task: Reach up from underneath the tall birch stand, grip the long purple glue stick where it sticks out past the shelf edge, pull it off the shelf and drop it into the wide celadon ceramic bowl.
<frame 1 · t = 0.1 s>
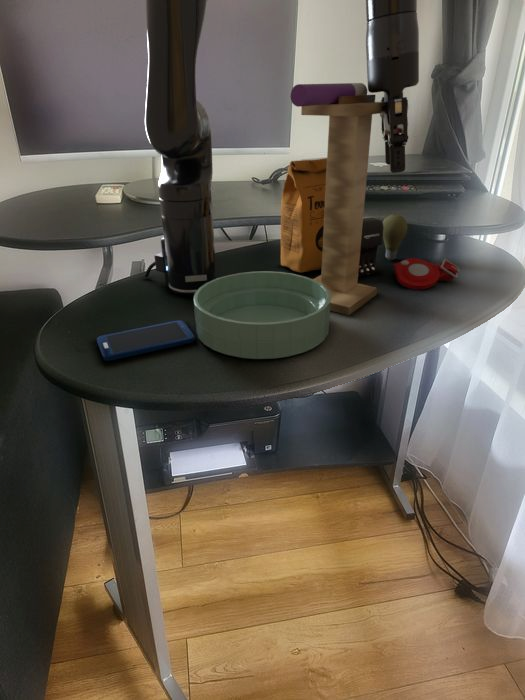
hand: (394, 167, 79), 22 cm above the table, tool pointing down, fingers open, 8 cm apart
glue stick: (331, 103, 70), point 32 cm above the table, touching stand
stand: (333, 297, 89), on the table
light bulb: (390, 260, 107), on the table
coffee package: (311, 268, 103), on the table
tracker holder: (424, 283, 95), on the table
bowl: (262, 328, 78), on the table
cell phone: (146, 342, 74), on the table
battery charger: (362, 275, 99), on the table
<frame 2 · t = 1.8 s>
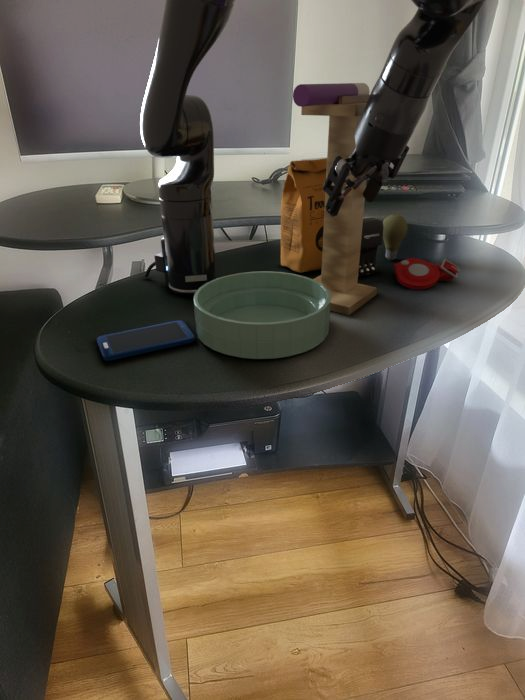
hand: (349, 205, 79), 17 cm above the table, tool tilted 30°, fingers open, 8 cm apart
glue stick: (331, 103, 70), point 32 cm above the table, tilted 19°, touching stand
everything else where it was.
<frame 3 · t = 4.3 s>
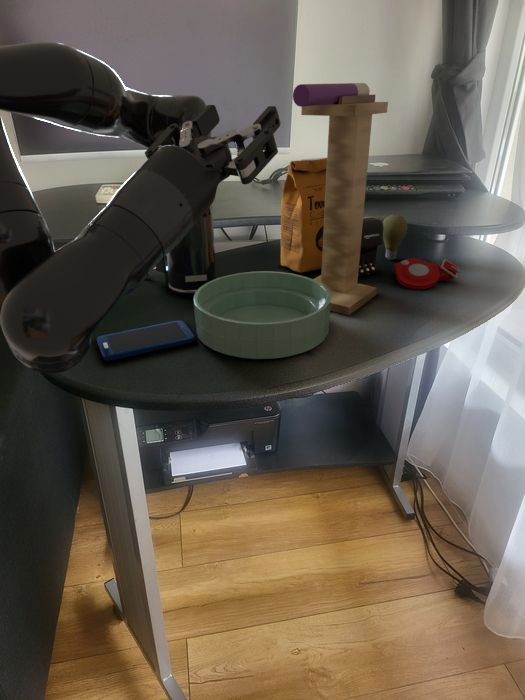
hand: (243, 113, 55), 32 cm above the table, tool pointing upward, fingers open, 8 cm apart
nothing on the table moved.
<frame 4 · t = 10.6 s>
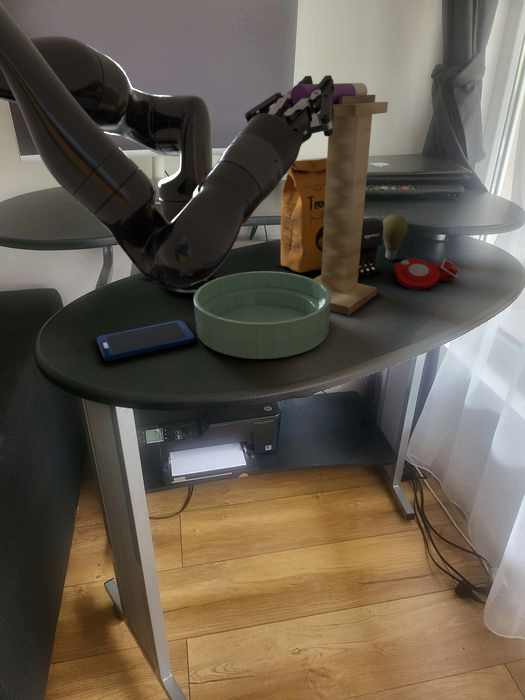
hand: (319, 82, 66), 35 cm above the table, tool pointing upward, fingers closed on glue stick, 2 cm apart
glue stick: (331, 103, 70), point 32 cm above the table, touching gripper, stand
everything else where it was.
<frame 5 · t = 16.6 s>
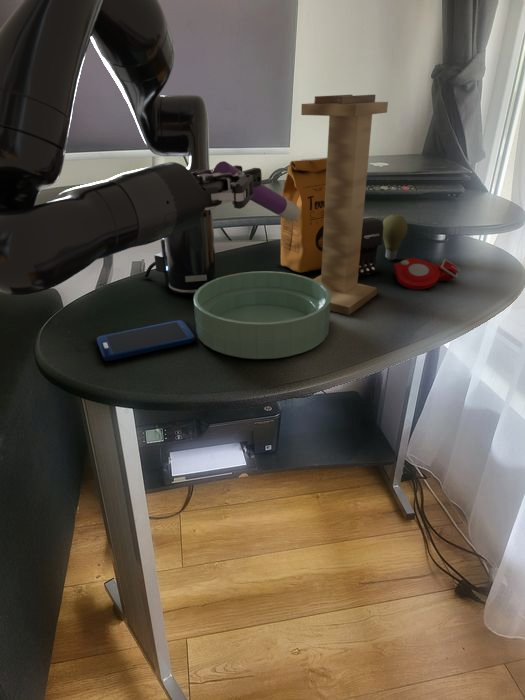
hand: (249, 174, 64), 24 cm above the table, tool horizontal, fingers closed on glue stick, 2 cm apart
glue stick: (257, 203, 67), point 20 cm above the table, tilted 27°, touching gripper
everything else where it was.
when the fingers open (9 cm above the table, at t = 21.5 s): glue stick drops 2 cm, resting on bowl.
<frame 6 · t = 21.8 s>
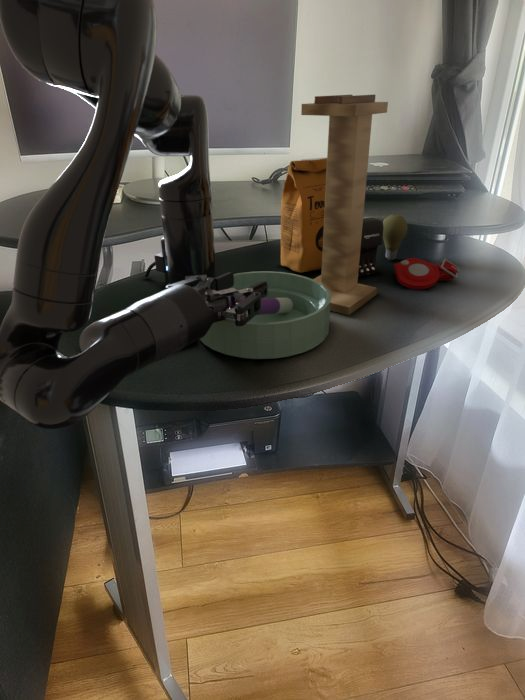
hand: (247, 282, 71), 9 cm above the table, tool horizontal, fingers open, 5 cm apart
glue stick: (253, 314, 74), point 3 cm above the table, tilted 19°, touching bowl
everything else where it was.
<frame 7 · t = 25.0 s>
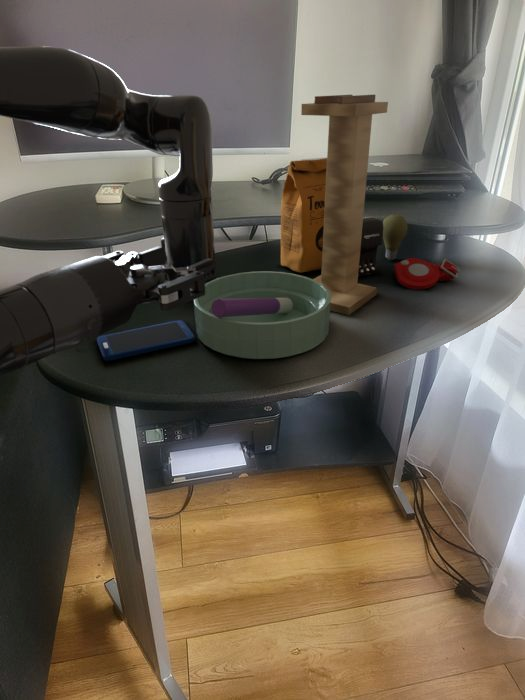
hand: (187, 260, 59), 16 cm above the table, tool horizontal, fingers open, 8 cm apart
nothing on the table moved.
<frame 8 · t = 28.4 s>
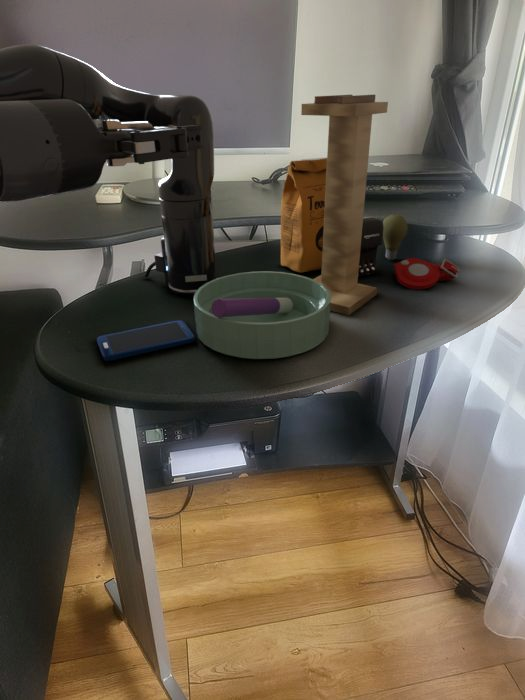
hand: (170, 134, 52), 30 cm above the table, tool horizontal, fingers open, 8 cm apart
nothing on the table moved.
at the end: glue stick inside the target area in the bowl (2.2 cm from its centre), point 3.4 cm above the bowl's base; the gripper is holding nothing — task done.
